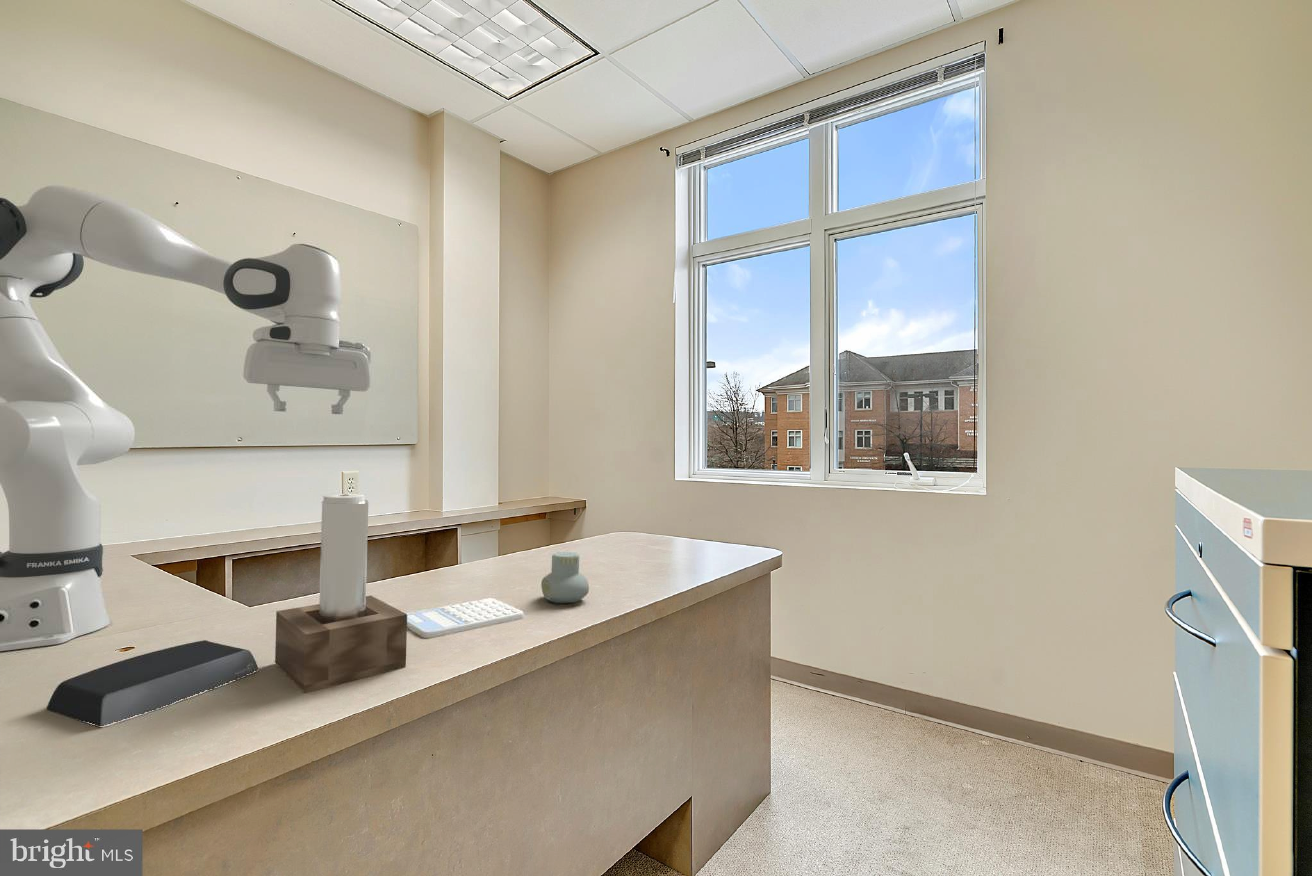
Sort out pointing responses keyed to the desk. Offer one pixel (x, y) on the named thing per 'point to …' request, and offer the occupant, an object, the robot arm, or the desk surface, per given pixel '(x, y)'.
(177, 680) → the external hard drive
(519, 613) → the calculator
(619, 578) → the desk surface
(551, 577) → the air freshener
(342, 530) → the tall grey cylinder
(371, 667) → the socket block
